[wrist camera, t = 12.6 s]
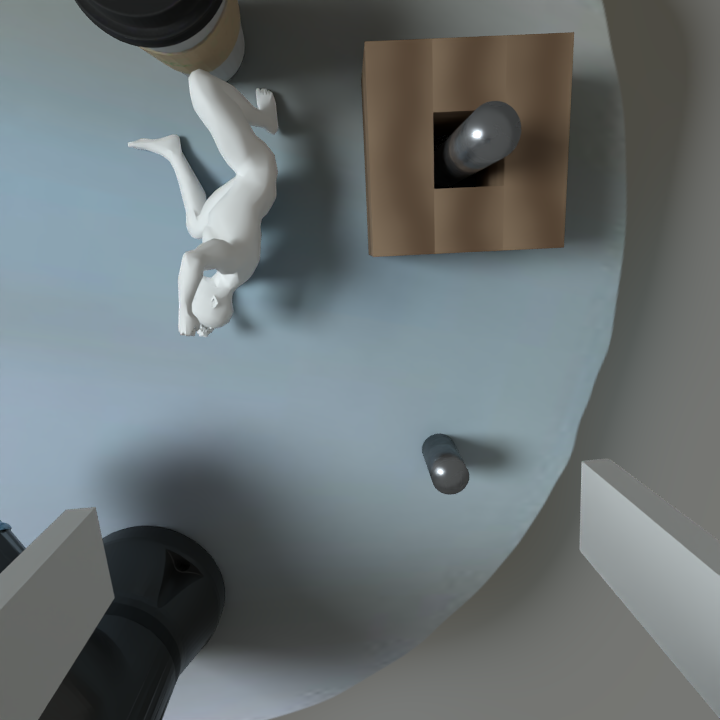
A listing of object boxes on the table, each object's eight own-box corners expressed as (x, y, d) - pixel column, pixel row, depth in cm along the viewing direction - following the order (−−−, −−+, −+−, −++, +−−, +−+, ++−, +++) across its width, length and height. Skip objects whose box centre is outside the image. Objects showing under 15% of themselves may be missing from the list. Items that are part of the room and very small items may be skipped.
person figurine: (68, 61, 30) (174, 338, 31) (267, 13, 32) (361, 274, 33) (130, 152, 43) (203, 345, 44) (269, 113, 45) (337, 299, 46)
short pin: (422, 465, 49) (432, 495, 43) (421, 434, 48) (432, 461, 42) (454, 463, 49) (469, 493, 43) (454, 432, 48) (469, 459, 42)
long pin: (427, 187, 42) (466, 161, 29) (427, 147, 42) (466, 102, 28) (464, 185, 42) (520, 159, 29) (464, 145, 42) (522, 99, 28)
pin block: (368, 254, 44) (373, 256, 36) (361, 80, 40) (364, 41, 33) (525, 246, 44) (563, 247, 36) (530, 72, 41) (574, 32, 33)
